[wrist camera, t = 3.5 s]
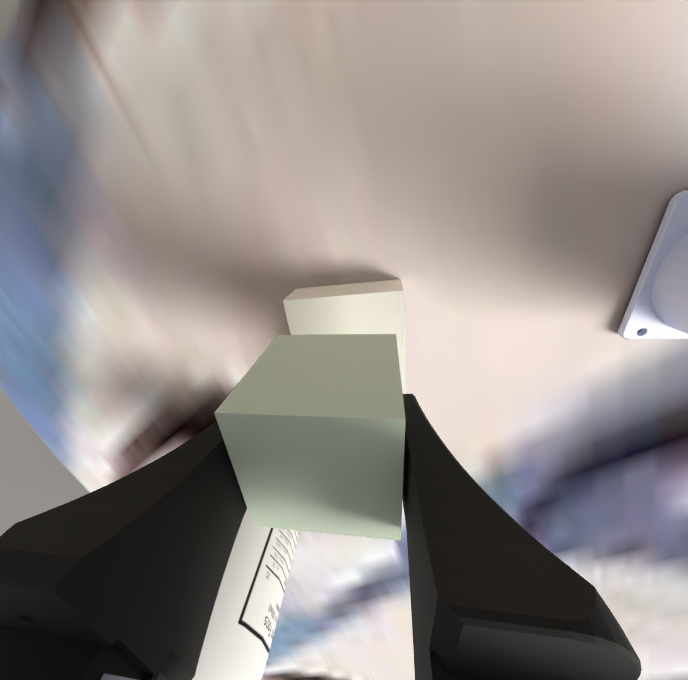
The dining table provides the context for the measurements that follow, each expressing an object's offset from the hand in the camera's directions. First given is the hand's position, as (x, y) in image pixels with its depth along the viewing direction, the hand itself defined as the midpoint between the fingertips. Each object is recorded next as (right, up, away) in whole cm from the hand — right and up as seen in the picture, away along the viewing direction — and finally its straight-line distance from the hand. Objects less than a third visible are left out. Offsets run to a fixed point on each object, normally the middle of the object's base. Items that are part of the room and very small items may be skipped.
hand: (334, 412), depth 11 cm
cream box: (+1, +4, +9) cm, 9 cm away
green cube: (0, +1, +1) cm, 2 cm away
